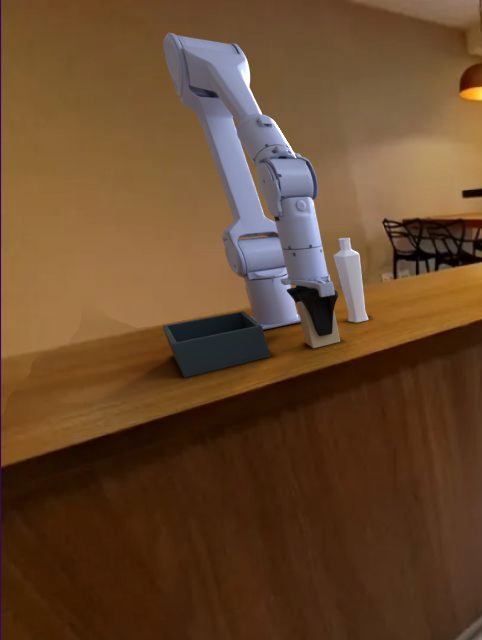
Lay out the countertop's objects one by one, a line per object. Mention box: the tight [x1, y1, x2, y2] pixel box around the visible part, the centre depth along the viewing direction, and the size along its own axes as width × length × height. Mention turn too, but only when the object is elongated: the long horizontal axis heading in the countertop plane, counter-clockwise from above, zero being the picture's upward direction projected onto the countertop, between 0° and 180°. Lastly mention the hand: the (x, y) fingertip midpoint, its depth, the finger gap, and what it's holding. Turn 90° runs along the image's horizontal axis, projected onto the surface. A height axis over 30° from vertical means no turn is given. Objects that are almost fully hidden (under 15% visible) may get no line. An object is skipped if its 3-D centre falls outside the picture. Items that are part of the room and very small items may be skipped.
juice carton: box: [296, 301, 341, 349], centre depth 72 cm, size 4×4×9 cm
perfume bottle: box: [333, 237, 370, 324], centre depth 81 cm, size 5×4×15 cm
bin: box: [162, 310, 271, 379], centre depth 67 cm, size 11×11×5 cm
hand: (320, 331), depth 73 cm, fingers closed on juice carton, 3 cm apart
